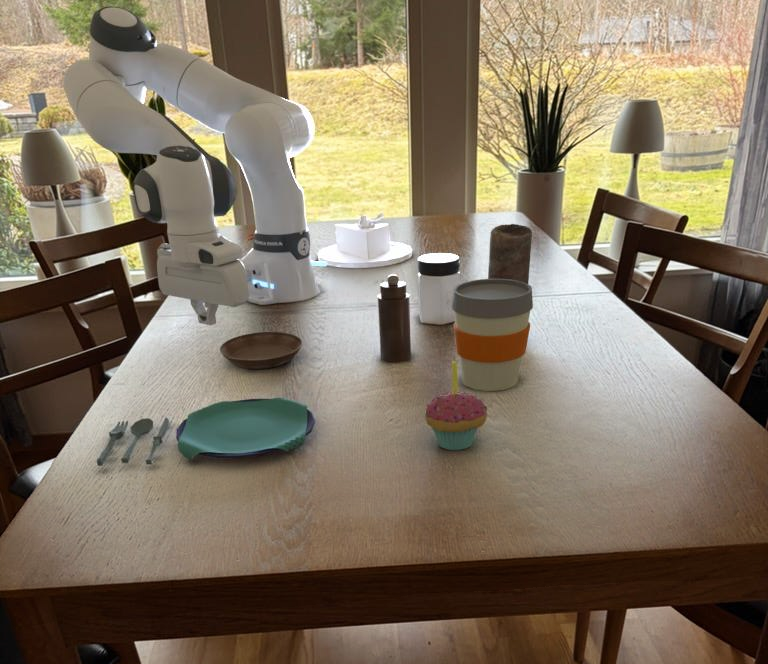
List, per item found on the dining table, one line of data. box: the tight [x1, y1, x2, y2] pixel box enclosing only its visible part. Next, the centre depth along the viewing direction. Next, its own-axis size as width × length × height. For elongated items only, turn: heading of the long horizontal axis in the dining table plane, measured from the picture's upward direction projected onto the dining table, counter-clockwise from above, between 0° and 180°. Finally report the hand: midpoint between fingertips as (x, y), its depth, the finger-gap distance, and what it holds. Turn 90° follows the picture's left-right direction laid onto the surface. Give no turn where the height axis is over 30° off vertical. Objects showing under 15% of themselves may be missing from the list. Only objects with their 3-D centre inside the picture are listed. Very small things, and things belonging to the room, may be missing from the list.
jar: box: [417, 252, 461, 326], centre depth 156 cm, size 9×8×12 cm
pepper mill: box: [377, 273, 412, 364], centre depth 137 cm, size 5×5×15 cm
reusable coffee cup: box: [452, 278, 534, 392], centre depth 125 cm, size 13×13×15 cm
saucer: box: [219, 331, 303, 370], centre depth 142 cm, size 15×15×3 cm
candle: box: [487, 223, 533, 285], centre depth 141 cm, size 8×7×20 cm
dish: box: [317, 212, 413, 269], centre depth 206 cm, size 25×25×11 cm
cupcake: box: [424, 355, 488, 451], centre depth 106 cm, size 9×8×12 cm
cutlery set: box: [96, 396, 316, 467], centre depth 114 cm, size 20×30×2 cm, turn 94°
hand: (207, 323), depth 147 cm, fingers closed
